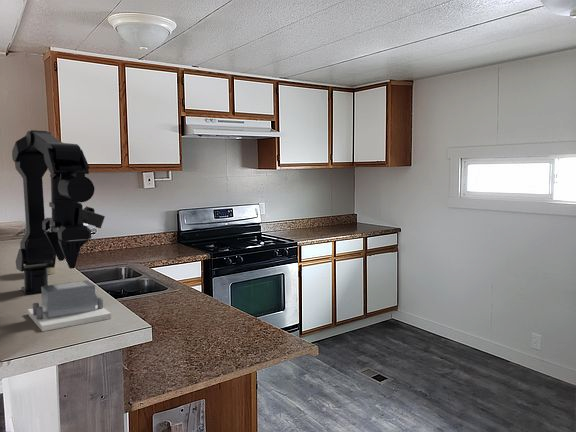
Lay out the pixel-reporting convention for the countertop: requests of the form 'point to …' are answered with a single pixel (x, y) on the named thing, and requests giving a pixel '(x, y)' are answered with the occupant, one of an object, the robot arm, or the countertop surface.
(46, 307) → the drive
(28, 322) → the countertop surface
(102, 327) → the countertop surface
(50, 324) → the tray
